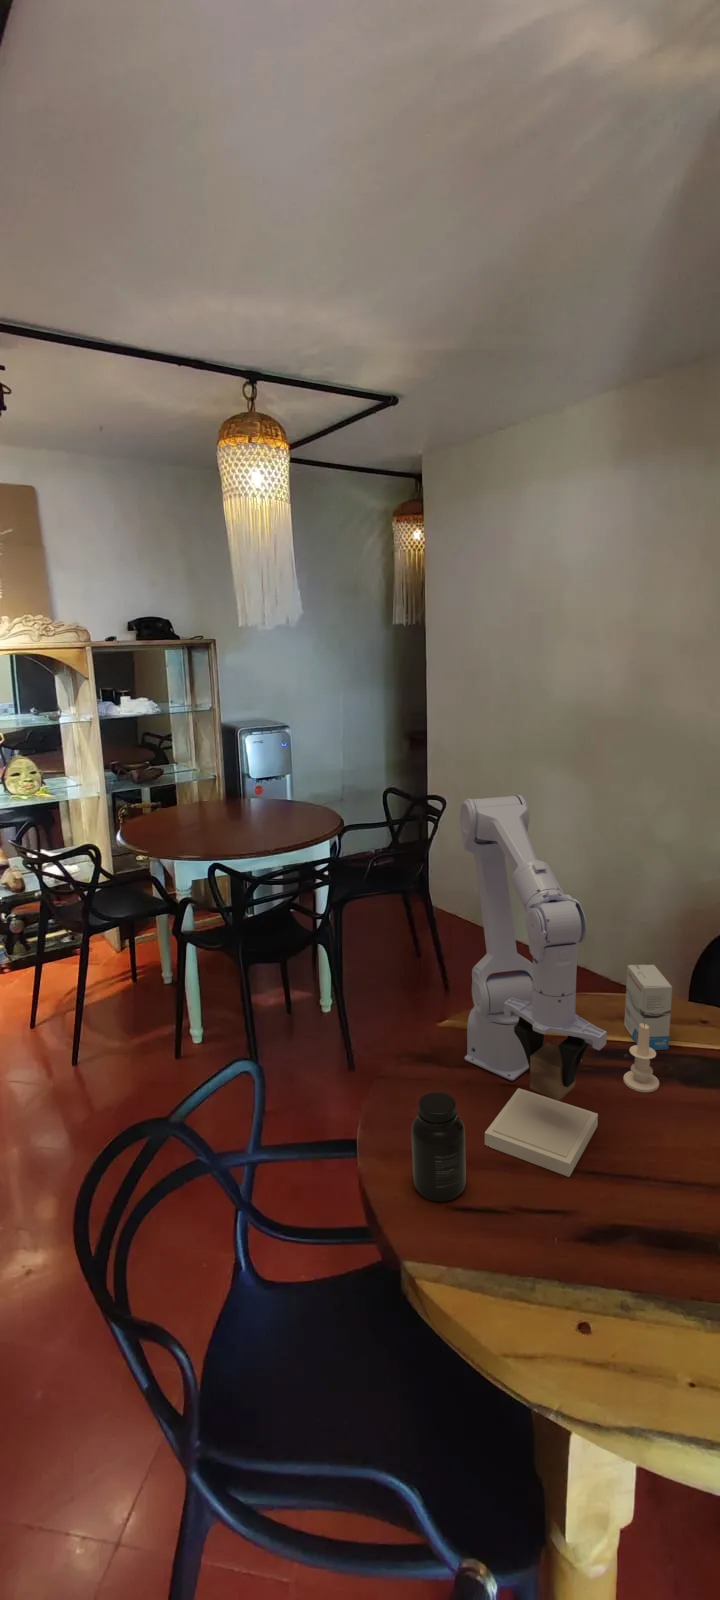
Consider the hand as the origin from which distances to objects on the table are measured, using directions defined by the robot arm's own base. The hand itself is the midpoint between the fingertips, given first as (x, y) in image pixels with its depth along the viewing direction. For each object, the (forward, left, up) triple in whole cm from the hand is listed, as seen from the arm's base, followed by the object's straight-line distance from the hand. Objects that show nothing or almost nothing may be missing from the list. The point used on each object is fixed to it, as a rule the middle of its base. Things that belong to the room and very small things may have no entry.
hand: (551, 1076), depth 106 cm
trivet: (-1, -1, -9) cm, 9 cm away
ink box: (-1, +33, -9) cm, 34 cm away
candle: (+4, +20, -9) cm, 22 cm away
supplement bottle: (-6, -18, -9) cm, 21 cm away
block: (0, 0, -2) cm, 2 cm away
